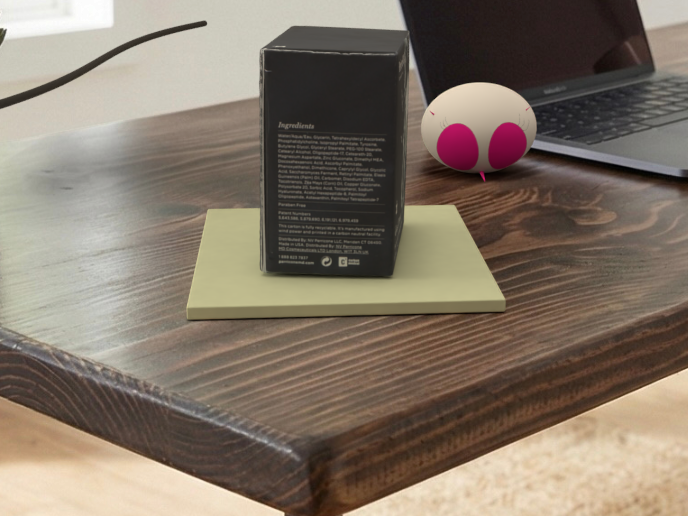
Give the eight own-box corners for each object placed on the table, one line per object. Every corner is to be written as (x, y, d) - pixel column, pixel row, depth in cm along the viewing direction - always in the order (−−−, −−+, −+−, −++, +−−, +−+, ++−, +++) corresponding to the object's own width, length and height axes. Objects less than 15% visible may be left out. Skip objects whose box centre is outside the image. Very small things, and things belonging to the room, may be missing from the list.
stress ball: (425, 226, 85) (424, 155, 80) (419, 138, 90) (418, 65, 84) (540, 221, 85) (547, 150, 80) (528, 134, 90) (534, 61, 84)
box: (399, 280, 60) (400, 50, 57) (258, 277, 60) (249, 48, 57) (410, 223, 70) (411, 25, 67) (288, 221, 70) (283, 23, 67)
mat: (208, 219, 73) (207, 208, 73) (454, 214, 75) (454, 204, 74) (186, 320, 56) (186, 307, 56) (505, 312, 58) (506, 299, 58)
